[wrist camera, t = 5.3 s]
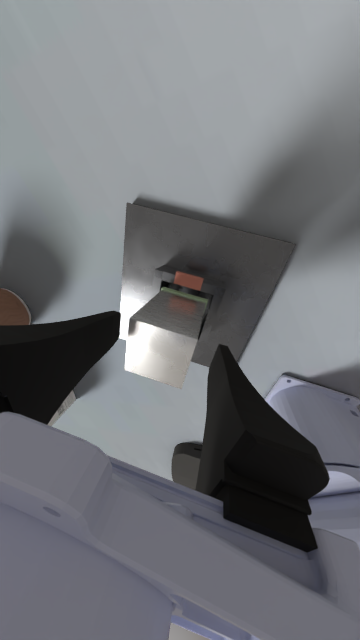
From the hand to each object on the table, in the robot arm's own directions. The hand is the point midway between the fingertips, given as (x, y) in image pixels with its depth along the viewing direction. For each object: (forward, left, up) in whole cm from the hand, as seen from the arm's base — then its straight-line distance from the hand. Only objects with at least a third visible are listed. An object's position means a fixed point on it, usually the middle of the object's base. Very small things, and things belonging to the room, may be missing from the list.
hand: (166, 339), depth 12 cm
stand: (0, 0, -9) cm, 9 cm away
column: (0, 0, -5) cm, 5 cm away
